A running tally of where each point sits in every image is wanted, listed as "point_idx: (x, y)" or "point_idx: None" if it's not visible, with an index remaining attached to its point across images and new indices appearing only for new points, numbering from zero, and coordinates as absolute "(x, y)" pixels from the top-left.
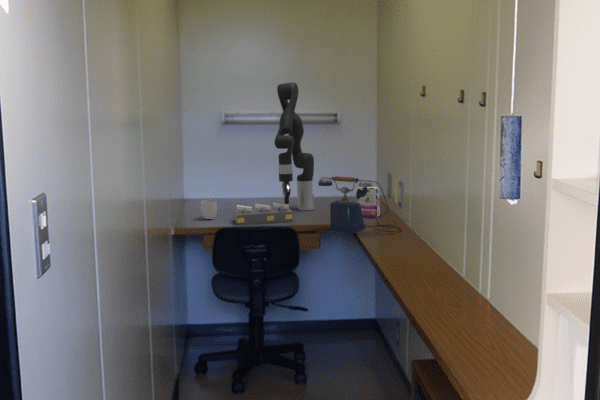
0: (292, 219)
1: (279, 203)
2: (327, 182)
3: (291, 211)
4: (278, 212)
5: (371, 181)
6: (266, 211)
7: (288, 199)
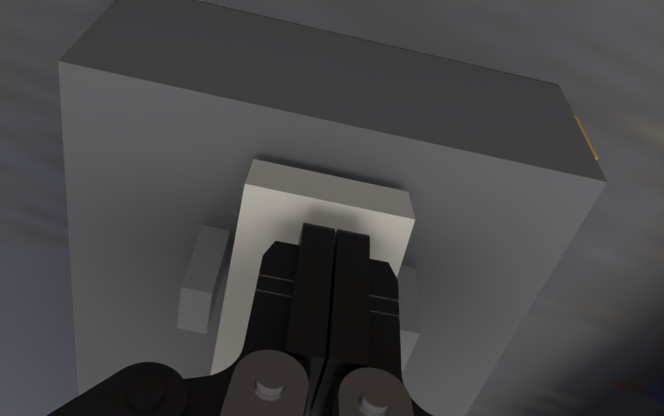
0: (565, 102)
1: (235, 350)
2: None
3: (588, 191)
4: (495, 362)
5: None
6: None
7: (365, 315)
